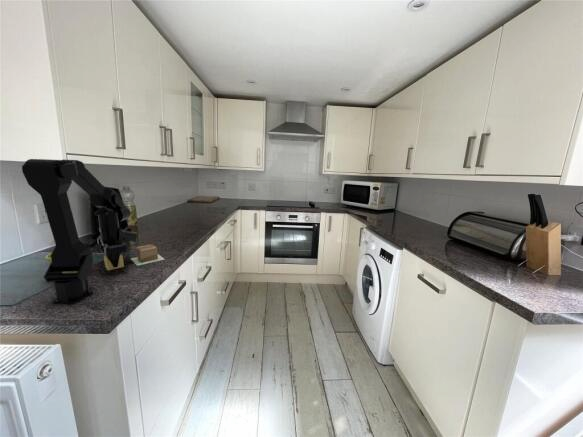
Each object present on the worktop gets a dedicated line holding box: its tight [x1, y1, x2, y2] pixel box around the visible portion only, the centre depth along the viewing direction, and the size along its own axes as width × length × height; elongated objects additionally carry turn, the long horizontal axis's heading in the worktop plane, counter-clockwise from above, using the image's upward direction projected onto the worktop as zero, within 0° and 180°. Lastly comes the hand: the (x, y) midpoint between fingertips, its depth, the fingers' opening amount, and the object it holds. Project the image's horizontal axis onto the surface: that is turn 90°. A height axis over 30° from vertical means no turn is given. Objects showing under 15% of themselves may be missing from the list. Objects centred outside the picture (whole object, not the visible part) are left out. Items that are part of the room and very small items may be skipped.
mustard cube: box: [103, 253, 125, 271], centre depth 89 cm, size 5×5×5 cm
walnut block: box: [136, 244, 158, 263], centre depth 97 cm, size 6×6×5 cm
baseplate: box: [130, 254, 165, 266], centre depth 98 cm, size 10×10×1 cm
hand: (114, 264), depth 89 cm, fingers closed on mustard cube, 5 cm apart
